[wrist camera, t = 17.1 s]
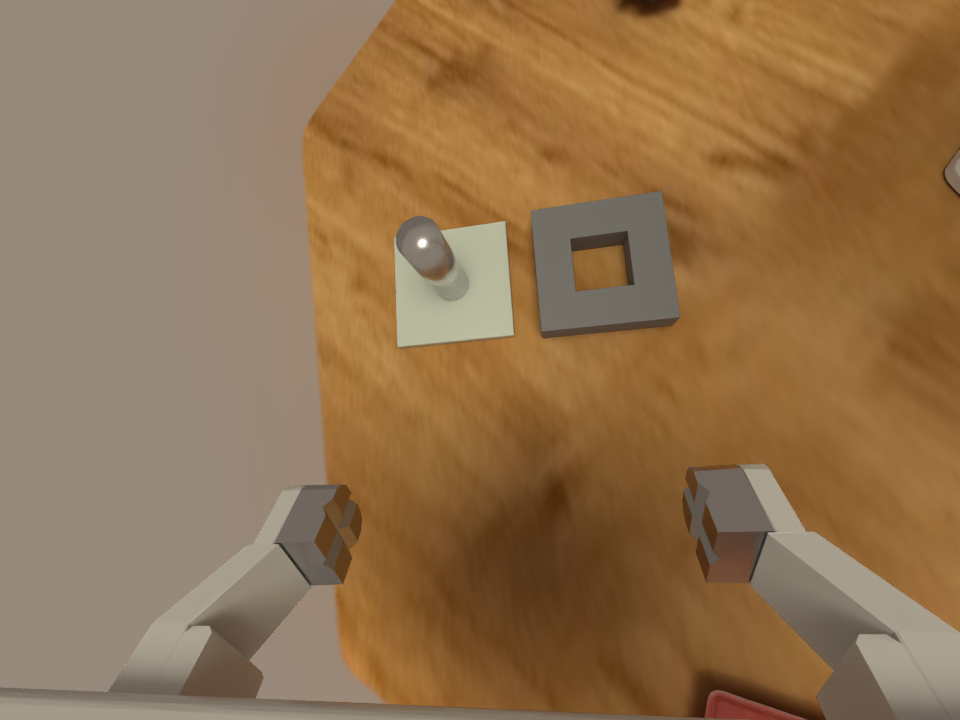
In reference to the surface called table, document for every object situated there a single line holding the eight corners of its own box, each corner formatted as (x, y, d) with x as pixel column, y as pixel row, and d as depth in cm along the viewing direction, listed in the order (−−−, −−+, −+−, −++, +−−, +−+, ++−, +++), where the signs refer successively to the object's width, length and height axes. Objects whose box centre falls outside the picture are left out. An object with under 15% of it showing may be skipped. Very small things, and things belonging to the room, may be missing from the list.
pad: (397, 240, 47) (394, 237, 47) (506, 224, 45) (505, 221, 44) (400, 348, 45) (397, 346, 44) (514, 336, 43) (513, 335, 42)
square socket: (532, 224, 45) (530, 210, 42) (654, 207, 43) (661, 190, 40) (542, 338, 43) (541, 331, 40) (671, 325, 41) (680, 317, 38)
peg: (444, 262, 45) (408, 209, 34) (475, 275, 44) (447, 225, 33) (429, 293, 45) (387, 250, 34) (459, 306, 44) (427, 266, 33)
